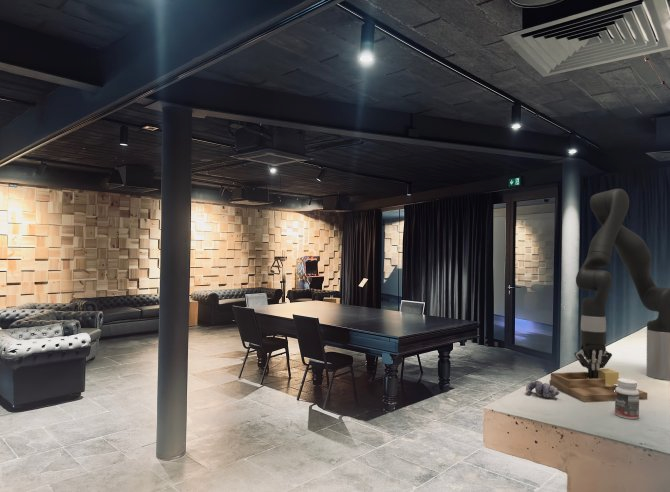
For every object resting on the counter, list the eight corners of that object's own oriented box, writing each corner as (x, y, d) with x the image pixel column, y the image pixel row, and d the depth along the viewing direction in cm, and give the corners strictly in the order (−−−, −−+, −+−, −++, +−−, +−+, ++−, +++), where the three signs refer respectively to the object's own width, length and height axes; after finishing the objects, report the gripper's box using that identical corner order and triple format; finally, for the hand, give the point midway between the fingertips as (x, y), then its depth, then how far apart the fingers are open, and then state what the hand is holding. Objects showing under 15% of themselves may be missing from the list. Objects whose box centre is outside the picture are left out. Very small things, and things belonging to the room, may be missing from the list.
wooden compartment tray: (606, 383, 160) (606, 377, 160) (647, 399, 143) (647, 392, 143) (549, 385, 156) (549, 379, 156) (584, 402, 140) (584, 395, 140)
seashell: (525, 397, 147) (559, 405, 142) (523, 387, 145) (557, 394, 139) (528, 384, 151) (561, 391, 145) (526, 374, 148) (560, 380, 142)
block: (607, 380, 157) (607, 368, 157) (618, 384, 152) (618, 372, 152) (594, 380, 156) (594, 368, 156) (605, 384, 151) (605, 372, 151)
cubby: (586, 379, 158) (586, 371, 158) (605, 386, 149) (605, 379, 149) (550, 380, 156) (550, 373, 156) (568, 388, 147) (568, 380, 147)
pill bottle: (610, 412, 131) (610, 377, 131) (628, 412, 131) (629, 377, 132) (624, 419, 125) (624, 383, 125) (644, 419, 126) (644, 383, 126)
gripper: (602, 327, 158) (602, 377, 158) (568, 327, 156) (567, 378, 156) (619, 330, 151) (619, 383, 151) (583, 331, 149) (583, 384, 149)
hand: (592, 380), depth 153 cm, fingers closed
